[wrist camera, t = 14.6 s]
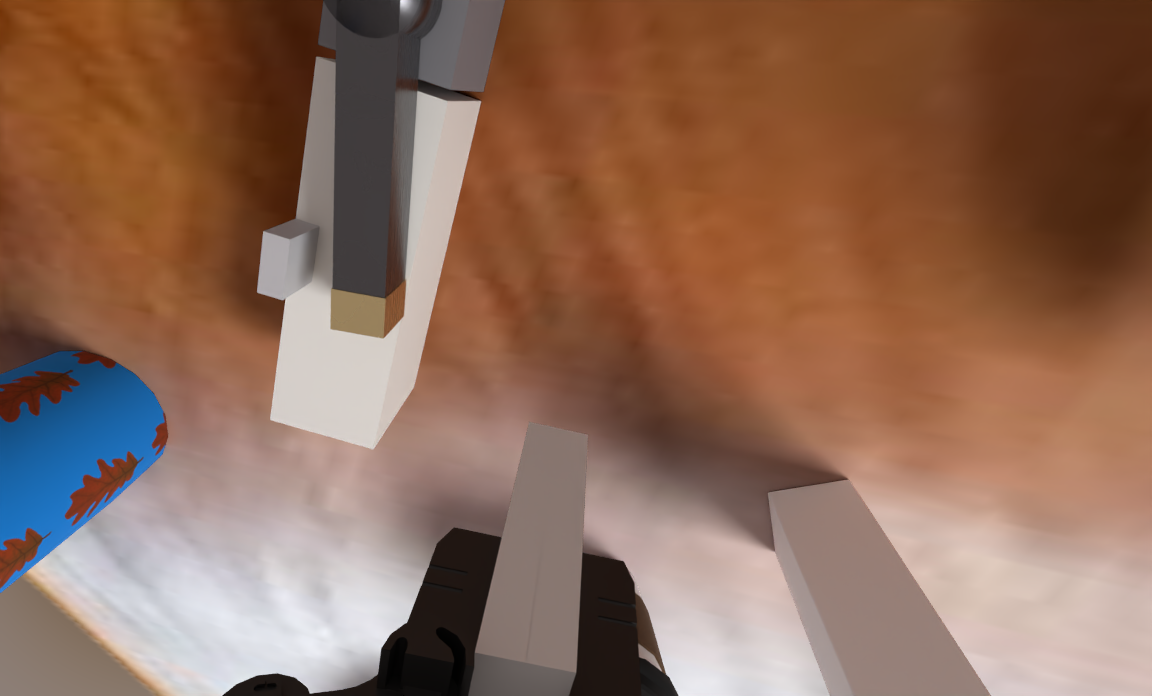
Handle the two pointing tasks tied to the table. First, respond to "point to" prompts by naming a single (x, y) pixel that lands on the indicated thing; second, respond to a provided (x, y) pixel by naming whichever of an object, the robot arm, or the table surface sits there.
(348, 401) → the white box with knob
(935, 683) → the milk
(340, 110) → the bar
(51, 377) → the thermos
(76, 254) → the table surface
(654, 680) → the coffee cup
